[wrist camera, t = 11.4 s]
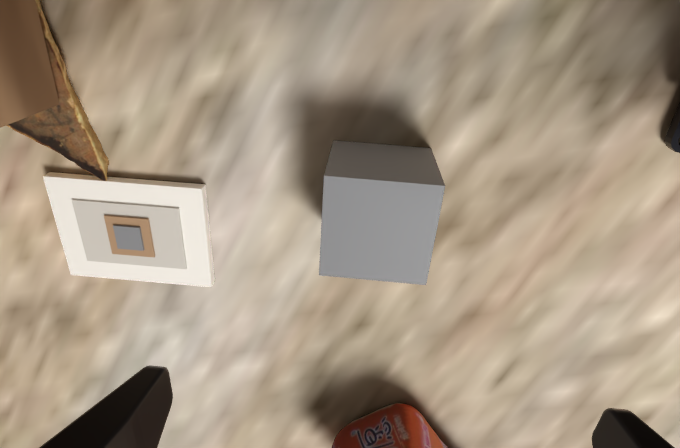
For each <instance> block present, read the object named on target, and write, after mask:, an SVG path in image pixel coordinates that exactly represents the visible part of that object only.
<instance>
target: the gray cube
mask: <svg viewBox="0 0 680 448" xmlns="http://www.w3.org/2000/svg"><path fill="white" fill-rule="evenodd" d="M444 189H445V184H444V182H443V179H442V176H441V174H440V171H439V168H438V166H437V163H436V160H435V158H434V155H433V152H432V150H431V148H422V147H409V146H397V145H385V144H373V143H360V142H348V141H336V140H333V144H332V147H331V151H330V155H329V159H328V162H327V166H326V170H325V174H324V184H323V205H322V225H321V246H320V266H319V275H322V276H333V277H344V278H355V279H366V280H377V281H388V282H399V283H410V284H421V285H426V283H427V277H428V272H429V267H430V262H431V257H432V251H433V246H434V241H435V236H436V231H437V226H438V220H439V215H440V210H441V205H442V200H443V194H444Z"/></svg>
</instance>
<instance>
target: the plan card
mask: <svg viewBox="0 0 680 448" xmlns="http://www.w3.org/2000/svg"><path fill="white" fill-rule="evenodd" d="M43 179H44V182H45V186H46V189H47V193H48V196H49V200H50V203H51V207H52V210H53V214H54V217H55V221H56V224H57V228H58V232H59V235H60V239H61V242H62V246H63V249H64V253H65V256H66V260H67V263H68V267H69V270H70V274H71V275H77V276H89V277H100V278H112V279H123V280H135V281H146V282H158V283H169V284H181V285H192V286H204V287H212V286H213V284H214V282H215V276H214V266H213V256H212V245H211V235H210V224H209V214H208V204H207V193H206V184H194V183H181V182H169V181H156V180H144V179H131V178H119V177H107V181H102V180H101V179H99V178H98V177H96V176H94V175H81V174H68V173H56V172H49V173H48V174H46V175H44V176H43Z"/></svg>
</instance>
